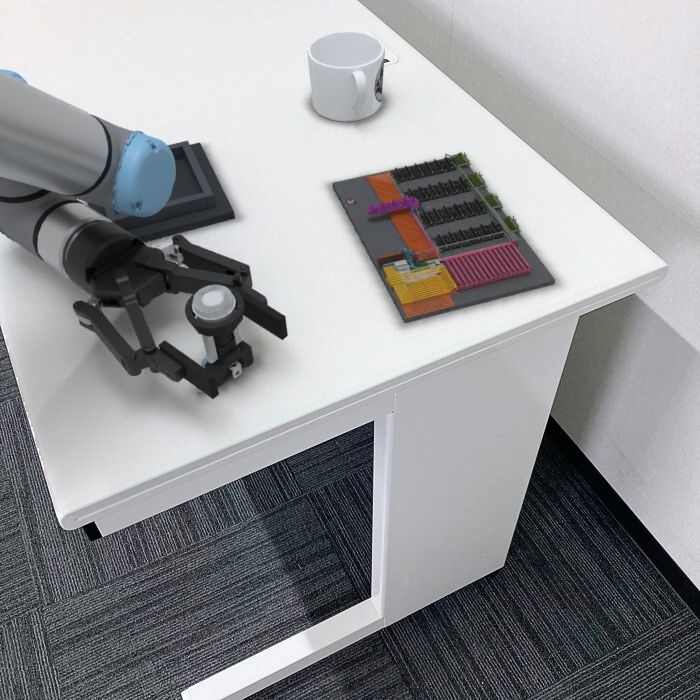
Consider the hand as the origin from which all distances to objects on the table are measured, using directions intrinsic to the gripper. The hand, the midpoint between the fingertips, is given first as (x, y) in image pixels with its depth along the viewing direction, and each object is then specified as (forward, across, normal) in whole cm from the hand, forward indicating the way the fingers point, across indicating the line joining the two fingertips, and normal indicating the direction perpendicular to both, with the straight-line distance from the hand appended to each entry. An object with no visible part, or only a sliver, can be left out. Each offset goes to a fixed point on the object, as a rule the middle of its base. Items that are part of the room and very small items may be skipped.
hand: (249, 356), depth 67 cm
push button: (-5, 0, -6) cm, 8 cm away
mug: (-26, -45, -6) cm, 53 cm away
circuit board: (-1, -31, -6) cm, 31 cm away
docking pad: (-32, -15, -6) cm, 36 cm away
